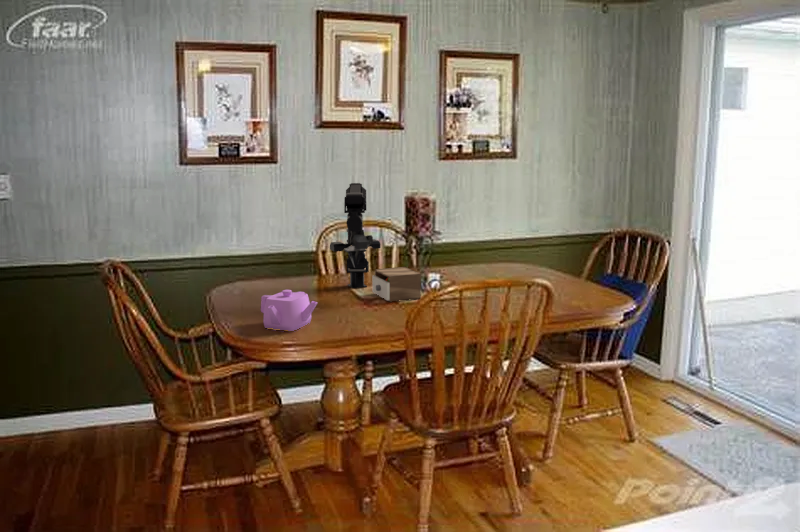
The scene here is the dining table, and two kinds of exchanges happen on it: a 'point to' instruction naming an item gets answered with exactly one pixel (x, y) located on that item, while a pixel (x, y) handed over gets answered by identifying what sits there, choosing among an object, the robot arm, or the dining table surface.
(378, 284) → the drawer
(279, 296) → the teakettle
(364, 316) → the dining table surface
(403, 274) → the small brown cabinet
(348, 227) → the robot arm
